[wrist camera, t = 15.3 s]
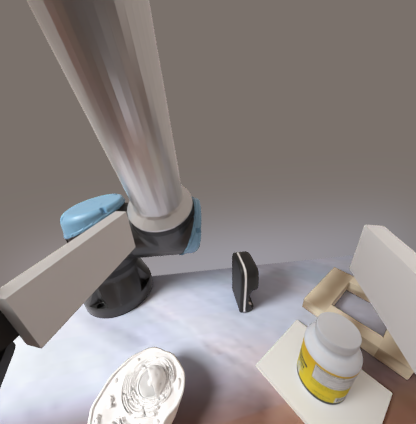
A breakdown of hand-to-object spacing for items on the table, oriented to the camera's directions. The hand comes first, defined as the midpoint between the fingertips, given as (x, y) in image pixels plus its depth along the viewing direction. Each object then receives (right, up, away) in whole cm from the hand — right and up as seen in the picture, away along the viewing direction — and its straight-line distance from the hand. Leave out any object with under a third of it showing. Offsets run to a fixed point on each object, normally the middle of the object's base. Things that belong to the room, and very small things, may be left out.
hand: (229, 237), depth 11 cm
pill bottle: (+15, -24, +17) cm, 33 cm away
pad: (+15, -24, +17) cm, 33 cm away
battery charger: (+7, -18, +31) cm, 37 cm away
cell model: (-10, -27, +15) cm, 32 cm away
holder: (+29, -19, +26) cm, 43 cm away
